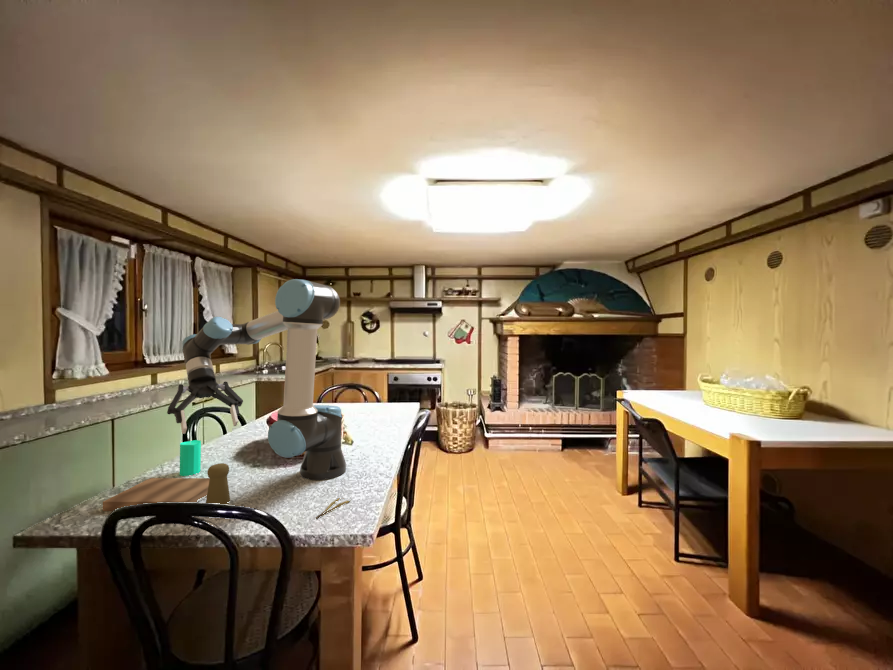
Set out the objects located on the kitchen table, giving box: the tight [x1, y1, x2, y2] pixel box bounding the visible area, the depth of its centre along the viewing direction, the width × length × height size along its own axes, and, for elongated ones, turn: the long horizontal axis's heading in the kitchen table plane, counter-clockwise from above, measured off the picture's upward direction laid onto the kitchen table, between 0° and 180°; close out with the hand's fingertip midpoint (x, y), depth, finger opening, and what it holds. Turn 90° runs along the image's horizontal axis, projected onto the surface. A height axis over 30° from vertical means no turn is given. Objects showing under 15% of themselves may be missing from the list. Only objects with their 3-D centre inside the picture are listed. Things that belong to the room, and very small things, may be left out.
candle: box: [179, 437, 202, 477], centre depth 124 cm, size 6×6×12 cm
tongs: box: [315, 497, 351, 520], centre depth 99 cm, size 4×13×2 cm, turn 163°
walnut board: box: [102, 477, 210, 512], centre depth 105 cm, size 22×16×2 cm
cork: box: [205, 463, 231, 505], centre depth 102 cm, size 6×6×11 cm
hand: (211, 427), depth 111 cm, fingers open, 13 cm apart
